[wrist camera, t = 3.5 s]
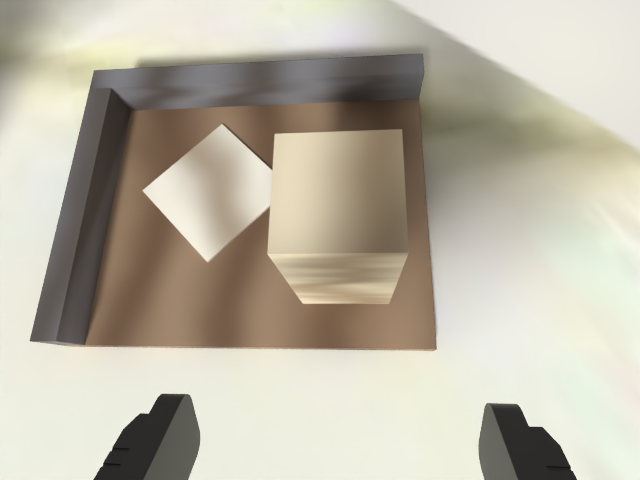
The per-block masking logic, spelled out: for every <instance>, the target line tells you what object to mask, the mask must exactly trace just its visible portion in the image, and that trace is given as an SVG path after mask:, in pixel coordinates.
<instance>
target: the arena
mask: <svg viewBox="0 0 640 480" xmlns="http://www.w3.org/2000/svg"><path fill="white" fill-rule="evenodd" d="M423 77H424V63H423V54H405V55H385V56H366V57H346V58H327V59H307V60H288V61H268V62H249V63H230V64H210V65H191V66H171V67H152V68H132V69H113V70H94V73H93V78H92V82H91V86H90V90H89V94H88V99H87V103H86V107H85V111H84V115H83V120H82V124H81V128H80V132H79V136H78V141H77V145H76V149H75V153H74V157H73V162H72V166H71V170H70V174H69V178H68V183H67V187H66V191H65V195H64V199H63V203H62V208H61V212H60V216H59V220H58V224H57V229H56V233H55V237H54V241H53V245H52V250H51V254H50V258H49V262H48V266H47V271H46V275H45V279H44V283H43V287H42V292H41V296H40V300H39V304H38V308H37V313H36V317H35V321H34V325H33V329H32V334H31V338H30V341H33V342H41V343H49V344H57V345H65V346H80V347H166V348H252V349H337V350H423V351H434V350H436V349H437V347H436V333H435V319H434V305H433V291H432V277H431V263H430V249H429V235H428V221H427V207H426V193H425V179H424V164H423V150H422V136H421V122H420V108H419V96H420V91H421V86H422V81H423ZM396 129H402V138H403V156H404V175H405V193H406V212H407V230H408V249H409V253H408V256H407V259H406V261H405V264H404V266H403V269H402V272H401V274H400V277H399V279H398V282H397V285H396V287H395V290H394V292H393V295H392V298H391V300H390V303H389V304H303V303H302V302H301V301H300V299H299V298H298V296H297V295H296V294H295V292H294V291H293V289H292V288H291V287H290V285H289V284H288V282H287V281H286V280H285V278H284V277H283V275H282V274H281V273H280V271H279V270H278V268H277V267H276V266H275V264H274V263H273V261H272V260H271V259H270V257H269V256H268V254H267V251H268V234H269V218H270V202H271V186H272V169H273V153H274V137H275V134H283V133H311V132H340V131H368V130H396Z"/></svg>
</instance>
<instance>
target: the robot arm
mask: <svg viewBox="0 0 640 480" xmlns="http://www.w3.org/2000/svg"><path fill="white" fill-rule="evenodd" d="M199 445H200V430H199V426H198V422H197V418H196V414H195V411H194V407H193V403H192V399H191V397H190V395H188V394H161V395H160V396H159V397H158V398H157V400H156V402H155V404H154V405H153V407H152V409H151V411H150V413H149V414H139V415H138V416H137V417H136V418H135V419H134V420H133V421H132V422H131V423H129V424H128V425H127V426H126V427H125V428H124V429H123V431H122V432H121V434H120V436H119V438H118V439H117V441H116V443H115V444H114V446H113V449H112V451H110V453H109V454H108V456H107V458H106V459H105V461H104V463H103V467H101V468H100V470H99V471H98V473H97V475H96V476H95V478H94V480H188V478H189V476H190V473H191V470H192V468H193V465H194V462H195V460H196V457H197V454H198V451H199ZM479 459H480V464H481V469H482V472H483V476H484V479H485V480H577V479H576V477H575V475H574V473H573V471H571V467H570V465H569V463H568V461H567V459H566V457H565V455H564V453H563V451H562V449H561V447H560V445H559V444H558V443H557V442H556V441H555V440H554V439H553V438H552V437H551V436H550V435H549V434H548V433H547V431H546V430H545V429H544V428H543V427H529V426H528V424H527V421H526V419H525V417H524V415H523V412H522V410H521V408H520V407H519V406H518V405H517V404H497V403H487V404H486V405H485V409H484V415H483V421H482V426H481V432H480V438H479Z"/></svg>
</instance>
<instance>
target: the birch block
mask: <svg viewBox="0 0 640 480" xmlns="http://www.w3.org/2000/svg"><path fill="white" fill-rule="evenodd" d="M408 253H409V249H408V230H407V212H406V193H405V175H404V156H403V138H402V129H396V130H368V131H340V132H311V133H283V134H275V137H274V153H273V169H272V186H271V202H270V218H269V234H268V251H267V254H268V256H269V257H270V259H271V260H272V261H273V263H274V264H275V266H276V267H277V268H278V270H279V271H280V273H281V274H282V275H283V277H284V278H285V280H286V281H287V282H288V284H289V285H290V287H291V288H292V289H293V291H294V292H295V294H296V295H297V296H298V298H299V299H300V301H301V302H302V303H303V304H389V303H390V300H391V298H392V295H393V292H394V290H395V287H396V285H397V282H398V279H399V277H400V274H401V272H402V269H403V266H404V264H405V261H406V259H407V256H408Z"/></svg>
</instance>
